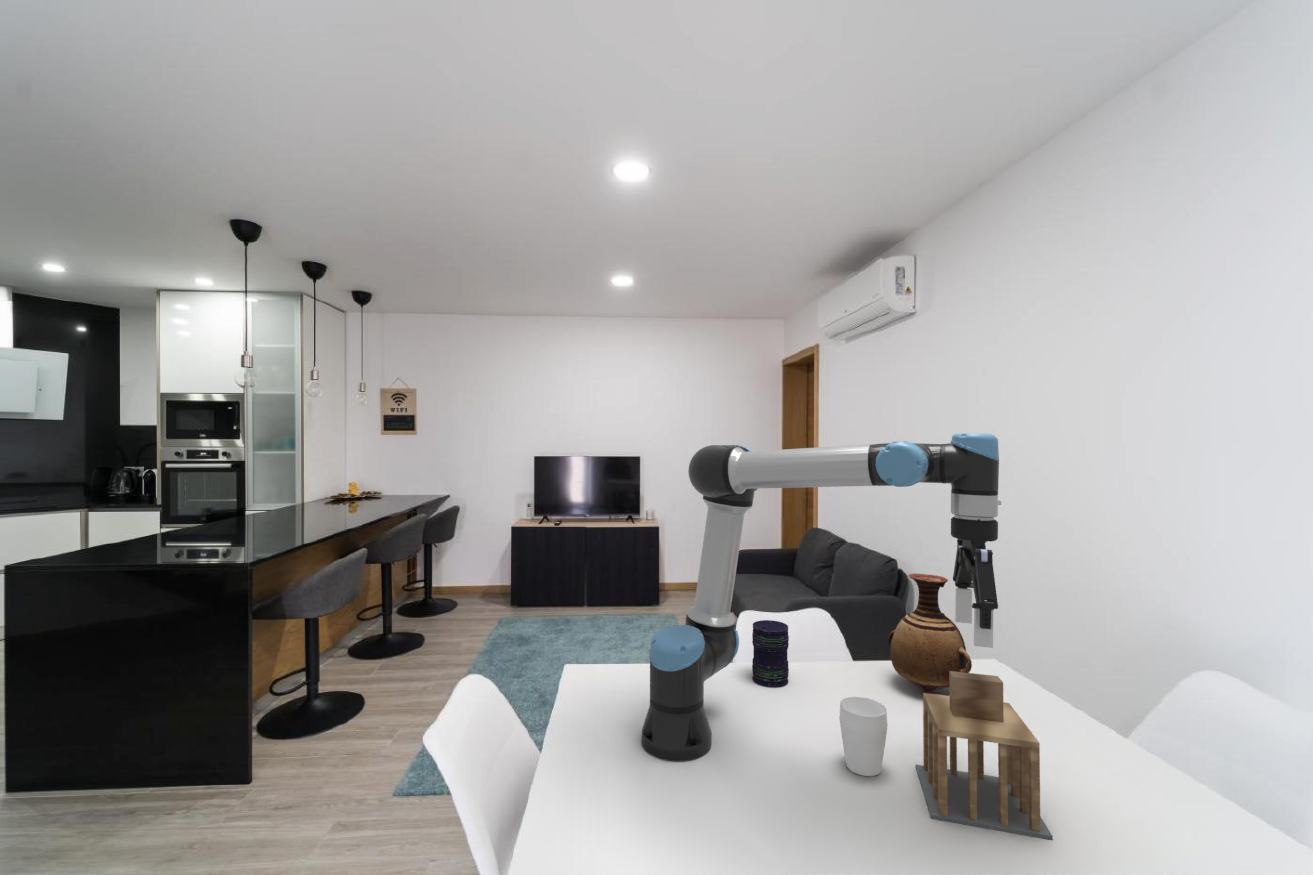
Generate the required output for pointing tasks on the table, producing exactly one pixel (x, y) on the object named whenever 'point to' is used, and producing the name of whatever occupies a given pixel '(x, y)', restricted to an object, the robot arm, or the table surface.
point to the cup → (863, 734)
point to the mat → (978, 804)
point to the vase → (928, 640)
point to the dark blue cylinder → (770, 653)
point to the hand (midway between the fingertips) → (972, 633)
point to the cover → (981, 743)
